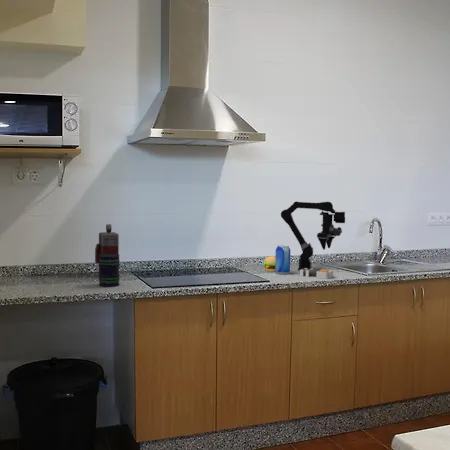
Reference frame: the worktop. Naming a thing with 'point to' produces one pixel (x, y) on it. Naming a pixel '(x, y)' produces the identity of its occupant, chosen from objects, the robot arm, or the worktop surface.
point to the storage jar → (109, 270)
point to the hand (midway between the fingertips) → (326, 248)
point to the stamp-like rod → (313, 271)
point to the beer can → (282, 260)
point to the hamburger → (270, 264)
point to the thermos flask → (107, 243)
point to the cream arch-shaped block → (324, 274)
